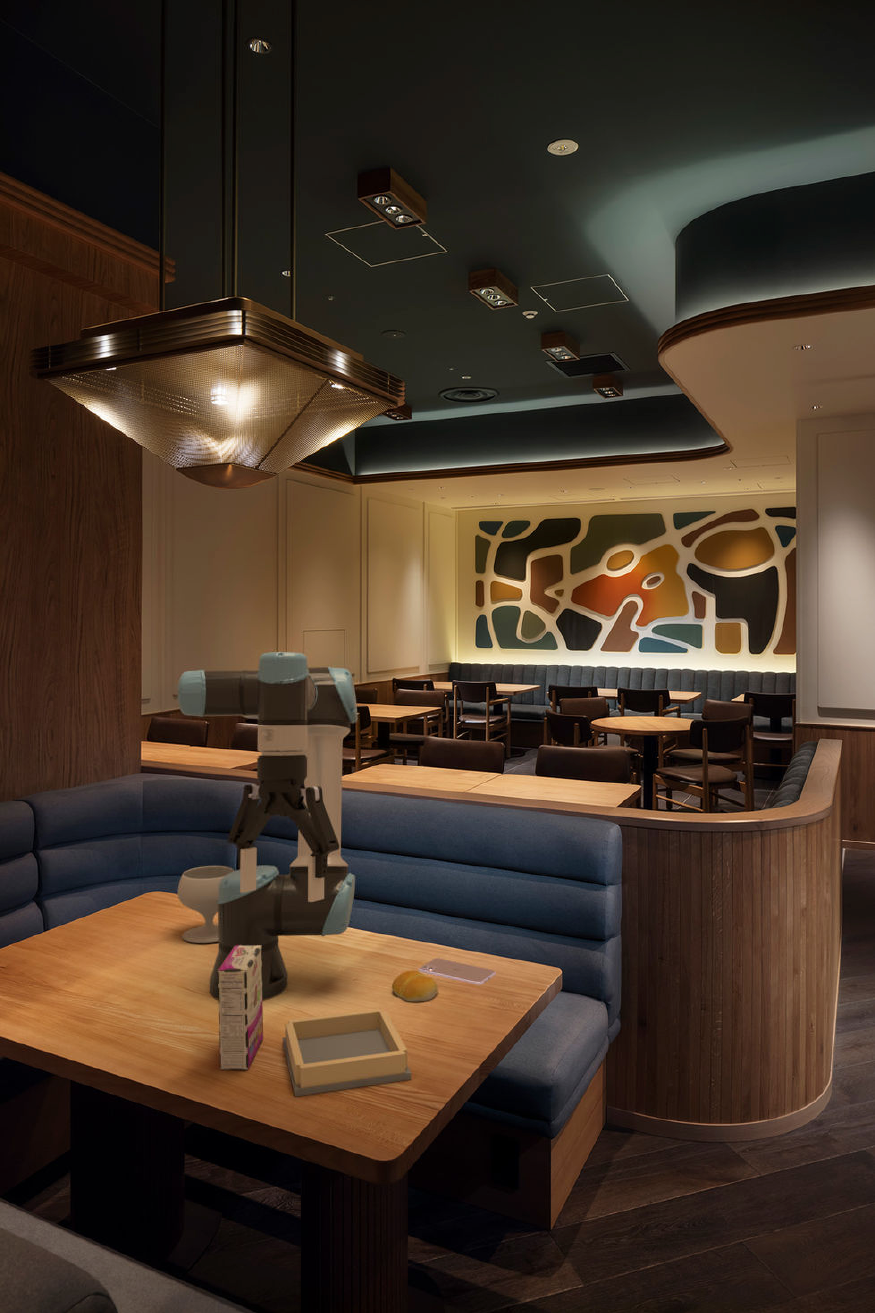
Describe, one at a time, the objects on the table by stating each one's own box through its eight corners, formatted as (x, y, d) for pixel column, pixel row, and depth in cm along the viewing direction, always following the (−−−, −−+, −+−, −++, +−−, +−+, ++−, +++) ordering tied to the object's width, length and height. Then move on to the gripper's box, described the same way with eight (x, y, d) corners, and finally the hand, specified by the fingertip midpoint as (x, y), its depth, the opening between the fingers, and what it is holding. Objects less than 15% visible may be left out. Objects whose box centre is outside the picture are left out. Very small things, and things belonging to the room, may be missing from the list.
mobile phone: (480, 982, 169) (416, 967, 177) (480, 987, 170) (416, 972, 177) (497, 969, 176) (435, 956, 184) (497, 974, 176) (435, 960, 184)
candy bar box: (234, 1039, 147) (234, 944, 147) (263, 1039, 147) (263, 944, 146) (217, 1071, 136) (216, 968, 135) (248, 1071, 135) (247, 968, 135)
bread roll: (414, 1007, 160) (414, 986, 160) (385, 992, 167) (385, 972, 167) (447, 995, 165) (447, 975, 165) (418, 981, 172) (418, 962, 172)
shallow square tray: (282, 1043, 145) (282, 1019, 145) (385, 1029, 150) (385, 1007, 150) (295, 1096, 128) (295, 1070, 128) (411, 1079, 133) (411, 1053, 133)
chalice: (251, 934, 200) (251, 871, 200) (200, 950, 190) (199, 883, 190) (217, 922, 209) (216, 861, 209) (166, 936, 199) (165, 872, 199)
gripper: (206, 753, 133) (203, 891, 131) (330, 755, 120) (330, 909, 118) (240, 752, 139) (239, 883, 138) (362, 753, 126) (362, 899, 125)
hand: (281, 895), depth 128 cm, fingers open, 13 cm apart
